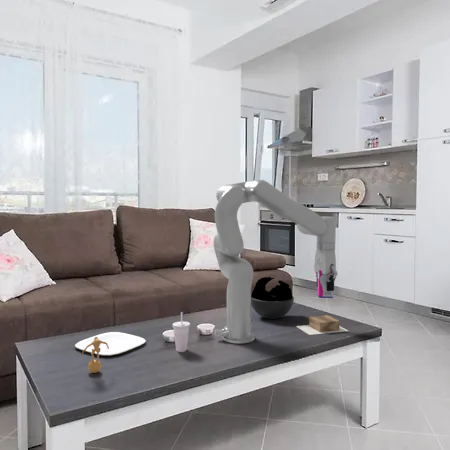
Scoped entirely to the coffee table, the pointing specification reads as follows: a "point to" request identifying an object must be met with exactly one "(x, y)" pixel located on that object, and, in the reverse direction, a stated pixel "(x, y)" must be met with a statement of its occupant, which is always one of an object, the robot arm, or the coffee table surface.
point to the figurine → (95, 364)
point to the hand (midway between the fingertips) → (325, 288)
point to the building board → (312, 331)
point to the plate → (112, 343)
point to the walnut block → (324, 323)
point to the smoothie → (181, 334)
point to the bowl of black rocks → (271, 299)
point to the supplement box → (323, 286)
